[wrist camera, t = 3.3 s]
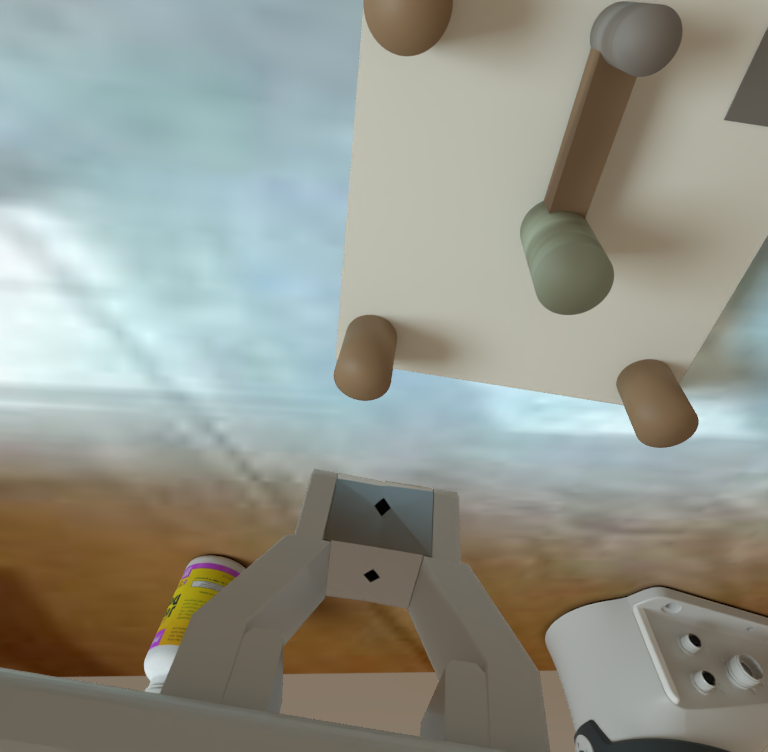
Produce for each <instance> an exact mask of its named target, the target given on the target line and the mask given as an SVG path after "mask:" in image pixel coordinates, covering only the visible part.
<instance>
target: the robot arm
mask: <svg viewBox="0 0 768 752" xmlns="http://www.w3.org/2000/svg"><path fill="white" fill-rule="evenodd" d="M325 596H333V597H340V598H348V599H355V600H362V601H369V602H374V603H379V604H384V605H390V606H395V607H400V608H405V609H408V613H409V615H410V617H411V619H412V622H413V624H414V626H415V628H416V631H417V633H418V635H419V637H420V639H421V642H422V644H423V646H424V648H425V651H426V653H427V655H428V657H429V660H430V662H431V664H432V666H433V668H434V671H435V673H436V675H437V677H438V679H439V683H438V685H437V687H436V690H435V692H434V694H433V696H432V699H431V701H430V703H429V706H428V708H427V710H426V712H425V714H424V717H423V719H422V721H421V728H420V737H419V736H413V735H406V734H401V733H395V732H389V731H383V730H376V729H370V728H364V727H358V726H352V725H346V724H340V723H334V722H328V721H322V720H315V719H309V718H304V717H298V716H292V715H285V714H279V713H280V708H281V704H282V691H283V690H282V689H283V646H284V645H285V644H286V643H287V642H288V640H289V639H290V638H291V637H292V636H293V635H294V633H295V632H296V631H297V630H298V629H299V628H300V626H301V625H302V624H303V623H304V622H305V621H306V619H307V618H308V617H309V616H310V615H311V614H312V613H313V611H314V610H315V609H316V608H317V607H318V606H319V604H320V603H321V602H322V601H323V600H324V599H325ZM545 643H546V646H547V649H548V651H549V653H550V655H551V657H552V659H553V662H554V664H555V667H556V669H557V672H558V675H559V677H560V680H561V683H562V686H563V689H564V693H565V696H566V699H567V702H568V706H569V710H570V713H571V717H572V721H573V725H574V729H575V733H576V734H575V736H574V741H575V752H763V751H764V750H765V749H766V748H767V746H768V618H767V617H763V616H760V615H756V614H753V613H750V612H746V611H743V610H739V609H736V608H733V607H729V606H726V605H722V604H719V603H716V602H712V601H709V600H705V599H702V598H699V597H695V596H692V595H689V594H685V593H682V592H678V591H675V590H672V589H668V588H664V587H653V588H649V589H645V590H643V591H640V592H637V593H635V594H633V595H630V596H628V597H625V598H621V599H616V600H610V601H604V602H598V603H594V604H590V605H586V606H583V607H580V608H577V609H575V610H573V611H570V612H568V613H566V614H565V615H563V616H561V617H560V618H559V619H557V620H556V621H555V622H554V623H553V624H552V625H551V626H550V627H549V629H548V631H547V633H546V636H545ZM0 752H550V746H549V738H548V730H547V723H546V715H545V708H544V700H543V692H542V685H541V677H540V672H539V670H538V669H537V667H536V666H535V664H534V663H533V661H532V660H531V658H530V657H529V655H528V654H527V652H526V651H525V649H524V648H523V646H522V645H521V643H520V642H519V640H518V639H517V637H516V636H515V634H514V633H513V631H512V630H511V628H510V627H509V625H508V624H507V622H506V621H505V619H504V618H503V616H502V615H501V613H500V612H499V610H498V609H497V607H496V606H495V604H494V603H493V601H492V600H491V598H490V597H489V595H488V594H487V592H486V590H485V589H484V587H483V586H482V584H481V583H480V581H479V580H478V578H477V577H476V575H475V574H474V572H473V571H472V569H471V568H470V566H469V565H468V564H466V563H461V562H460V521H459V496H458V494H457V492H452V491H445V490H439V489H432V488H428V487H422V486H415V485H408V484H402V483H395V482H388V481H385V482H384V481H379V480H373V479H368V478H363V477H357V476H352V475H347V474H341V473H339V474H338V473H335V472H329V471H323V470H318V469H314V471H313V473H312V475H311V478H310V481H309V485H308V488H307V492H306V495H305V499H304V502H303V506H302V509H301V513H300V516H299V520H298V524H297V527H296V531H295V534H294V535H289V534H287V535H285V536H284V537H283V538H282V539H281V540H280V541H278V542H277V543H276V544H275V545H274V546H273V547H271V548H270V549H269V550H268V551H267V552H265V553H264V554H263V555H262V556H261V557H260V558H258V559H257V560H256V561H255V562H254V563H253V564H251V565H250V566H249V567H248V568H247V569H245V570H244V571H243V572H242V573H241V574H240V575H238V576H237V577H236V578H235V579H234V580H233V581H231V582H230V583H229V584H228V585H227V586H225V587H224V588H223V589H222V590H221V591H220V592H218V593H217V594H216V595H215V596H214V597H213V598H211V599H210V600H209V601H208V602H207V603H205V604H204V605H203V606H202V607H201V608H200V609H198V610H197V611H196V612H195V613H194V614H193V615H192V617H191V619H190V622H189V624H188V626H187V629H186V631H185V634H184V636H183V639H182V641H181V643H180V646H179V648H178V651H177V653H176V655H175V658H174V660H173V663H172V665H171V667H170V670H169V672H168V675H167V677H166V680H165V682H164V684H163V687H162V689H161V692H160V694H158V693H152V692H146V691H139V690H133V689H127V688H121V687H114V686H108V685H102V684H97V683H91V682H84V681H78V680H72V679H66V678H60V677H54V676H48V675H42V674H36V673H30V672H24V671H18V670H12V669H6V668H0Z"/></svg>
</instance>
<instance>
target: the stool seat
mask: <svg viewBox="0 0 768 752" xmlns="http://www.w3.org/2000/svg"><path fill="white" fill-rule="evenodd" d="M620 1H629V2H640V3H651V4H663V5H667V6H669V7H671V8H672V9H674V10H675V11H676V12H677V14H678V15H679V17H680V19H681V22H682V31H683V32H682V39H681V43H680V46H679V48H678V51H677V52H676V54H675V56H674V57H673V59H672V60H671V61H670V62H669V63H668V64H667V65H666V66H665V67H664V68H663V69H661V70H660V71H658V72H657V73H654V74H652V75H649V76H645V77H637V78H636V81H635V84H634V87H633V89H632V92H631V95H630V97H629V100H628V103H627V106H626V108H625V111H624V114H623V117H622V119H621V122H620V125H619V128H618V130H617V133H616V136H615V138H614V141H613V144H612V147H611V149H610V152H609V155H608V158H607V160H606V163H605V166H604V169H603V171H602V174H601V177H600V179H599V182H598V185H597V188H596V190H595V193H594V196H593V199H592V201H591V204H590V207H589V210H588V212H587V215H586V220H587V222H588V224H589V225H590V227H591V229H592V230H593V232H594V234H595V236H596V237H597V239H598V241H599V242H600V244H601V246H602V248H603V249H604V251H605V253H606V255H607V256H608V258H609V260H610V261H611V263H612V266H613V269H614V281H613V285H612V288H611V290H610V292H609V293H608V295H607V296H606V298H605V299H604V300H603V301H602V302H601V303H600V304H598V305H597V306H596V307H594V308H592V309H591V310H589V311H586V312H584V313H580V314H576V315H561V314H557V313H554V312H551V311H549V310H548V309H546V308H545V307H544V306H543V305H542V304H541V303H540V302H539V300H538V298H537V295H536V292H535V289H534V285H533V282H532V278H531V274H530V271H529V267H528V264H527V260H526V256H525V253H524V249H523V246H522V242H521V238H520V228H521V224H522V221H523V219H524V217H525V216H526V214H527V213H528V212H529V210H530V209H532V208H533V207H534V206H535V205H537V204H538V203H540V202H542V201H544V198H545V195H546V191H547V188H548V185H549V182H550V179H551V175H552V172H553V169H554V166H555V162H556V159H557V156H558V153H559V149H560V146H561V143H562V140H563V137H564V133H565V130H566V127H567V124H568V120H569V117H570V114H571V111H572V107H573V104H574V101H575V98H576V94H577V91H578V88H579V85H580V82H581V78H582V75H583V72H584V69H585V65H586V62H587V59H588V56H589V52H590V49H591V46H590V33H591V29H592V26H593V24H594V22H595V20H596V18H597V17H598V15H599V14H600V13H601V12H602V11H603V10H604V9H605V8H606V7H608V6H609V5H611V4H613V3H616V2H620ZM767 236H768V0H364V7H363V20H362V32H361V45H360V57H359V70H358V82H357V95H356V107H355V120H354V132H353V145H352V157H351V170H350V183H349V195H348V208H347V220H346V233H345V245H344V258H343V270H342V283H341V295H340V308H339V320H338V333H337V345H336V358H335V359H336V360H337V364H336V367H335V370H334V380H335V383H336V385H337V387H338V388H339V389H340V391H342V392H343V393H344V394H345V395H347V396H349V397H351V398H353V399H356V400H363V401H368V400H374V399H377V398H379V397H381V396H382V395H384V394H385V393H386V392H387V390H388V389H389V387H390V384H391V377H392V371H393V369H399V370H405V371H411V372H418V373H424V374H430V375H437V376H443V377H449V378H455V379H462V380H468V381H474V382H481V383H487V384H493V385H499V386H506V387H512V388H518V389H525V390H531V391H537V392H543V393H550V394H556V395H562V396H569V397H575V398H581V399H587V400H594V401H600V402H606V403H613V404H619V405H624V407H625V409H626V412H627V414H628V416H629V419H630V421H631V424H632V426H633V428H634V431H635V433H636V436H637V438H638V439H639V440H640V441H641V442H642V443H644V444H645V445H648V446H651V447H657V448H664V447H671V446H674V445H677V444H680V443H682V442H684V441H686V440H687V439H688V438H690V437H691V436H692V435H693V434H694V432H695V431H696V429H697V427H698V417H697V414H696V413H695V411H694V409H693V407H692V406H691V404H690V402H689V401H688V399H687V397H686V395H685V394H684V392H683V390H682V388H681V387H680V385H679V383H680V381H681V380H682V378H683V376H684V375H685V373H686V371H687V370H688V368H689V366H690V365H691V363H692V361H693V360H694V358H695V356H696V355H697V353H698V351H699V350H700V348H701V346H702V345H703V343H704V341H705V340H706V338H707V336H708V335H709V333H710V331H711V330H712V328H713V326H714V325H715V323H716V321H717V319H718V318H719V316H720V314H721V313H722V311H723V309H724V308H725V306H726V304H727V303H728V301H729V299H730V298H731V296H732V294H733V293H734V291H735V289H736V288H737V286H738V284H739V283H740V281H741V279H742V278H743V276H744V274H745V273H746V271H747V269H748V268H749V266H750V264H751V263H752V261H753V259H754V257H755V256H756V254H757V252H758V251H759V249H760V247H761V246H762V244H763V242H764V241H765V239H766V237H767Z"/></svg>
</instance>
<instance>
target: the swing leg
mask: <svg viewBox="0 0 768 752" xmlns="http://www.w3.org/2000/svg"><path fill="white" fill-rule="evenodd" d="M682 32H683V31H682V22H681V19H680V17H679V15H678V14H677V12H676V11H675V10H674V9H672V8H671V7H669V6H667V5H663V4H651V3H640V2H629V1H620V2H616V3H613V4H611V5H609V6H608V7H606V8H605V9H604V10H603V11H602V12H601V13H600V14H599V15H598V17H597V18H596V20H595V22H594V24H593V26H592V29H591V33H590V46H591V49H590V52H589V56H588V59H587V62H586V65H585V69H584V72H583V75H582V78H581V82H580V85H579V88H578V91H577V94H576V98H575V101H574V104H573V107H572V111H571V114H570V117H569V120H568V124H567V127H566V130H565V133H564V137H563V140H562V143H561V146H560V149H559V153H558V156H557V159H556V162H555V166H554V169H553V172H552V175H551V179H550V182H549V185H548V188H547V191H546V195H545V198H544V201H542V202H540V203H538V204H537V205H535V206H534V207H533V208H532V209H530V210H529V212H528V213H527V214H526V216H525V217H524V219H523V221H522V224H521V228H520V238H521V242H522V246H523V249H524V253H525V256H526V260H527V264H528V267H529V271H530V274H531V278H532V282H533V285H534V289H535V292H536V295H537V298H538V300H539V302H540V303H541V304H542V305H543V306H544V307H545V308H546V309H548V310H549V311H551V312H554V313H557V314H561V315H576V314H580V313H584V312H586V311H589V310H591V309H592V308H594V307H596V306H597V305H598V304H600V303H601V302H602V301H603V300H604V299H605V298H606V296H607V295H608V293H609V292H610V290H611V288H612V285H613V281H614V269H613V266H612V263H611V261H610V260H609V258H608V256H607V255H606V253H605V251H604V249H603V248H602V246H601V244H600V242H599V241H598V239H597V237H596V236H595V234H594V232H593V230H592V229H591V227H590V225H589V224H588V222H587V220H586V215H587V212H588V210H589V207H590V204H591V201H592V199H593V196H594V193H595V190H596V188H597V185H598V182H599V179H600V177H601V174H602V171H603V169H604V166H605V163H606V160H607V158H608V155H609V152H610V149H611V147H612V144H613V141H614V138H615V136H616V133H617V130H618V128H619V125H620V122H621V119H622V117H623V114H624V111H625V108H626V106H627V103H628V100H629V97H630V95H631V92H632V89H633V87H634V84H635V81H636V78H637V77H645V76H649V75H652V74H654V73H657V72H658V71H660V70H661V69H663V68H664V67H665V66H666V65H667V64H668V63H669V62H670V61H671V60H672V59H673V57H674V56H675V54H676V52H677V51H678V48H679V46H680V43H681V39H682Z"/></svg>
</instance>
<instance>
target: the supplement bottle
mask: <svg viewBox="0 0 768 752" xmlns="http://www.w3.org/2000/svg"><path fill="white" fill-rule="evenodd" d="M245 569H246V568H244V567H243V566H242V565H241V564H239V563H237V562H236V561H233V560H231V559H228V558H225V557H222V556H214V555H206V556H200V557H197V558H195V559H193V560H192V561H191V562H190V563H189V564H188V566H187V567H186V569H185V571H184V574H183V576H182V578H181V580H180V582H179V585H178V587H177V589H176V591H175V593H174V596H173V598H172V600H171V602H170V604H169V607H168V609H167V611H166V613H165V615H164V618H163V620H162V622H161V625H160V627H159V629H158V631H157V634H156V636H155V638H154V640H153V642H152V645H151V647H150V649H149V651H148V653H147V656H146V658H145V662H144V670H145V673H146V675H147V677H148V678H149V680H150V681H151V682H150V685H149V687H147V688H146V690H145V691H146V692H152V693H158V694H160V692H161V689H162V687H163V684H164V682H165V680H166V677H167V675H168V672H169V670H170V667H171V665H172V663H173V660H174V658H175V655H176V653H177V651H178V648H179V646H180V643H181V641H182V639H183V636H184V634H185V631H186V629H187V626H188V624H189V622H190V619H191V617H192V615H193V614H194V613H195V612H196V611H197V610H198V609H200V608H201V607H202V606H203V605H204V604H205V603H207V602H208V601H209V600H210V599H211V598H213V597H214V596H215V595H216V594H217V593H218V592H220V591H221V590H222V589H223V588H224V587H225V586H227V585H228V584H229V583H230V582H231V581H233V580H234V579H235V578H236V577H237V576H238V575H240V574H241V573H242V572H243V571H244V570H245Z"/></svg>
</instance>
